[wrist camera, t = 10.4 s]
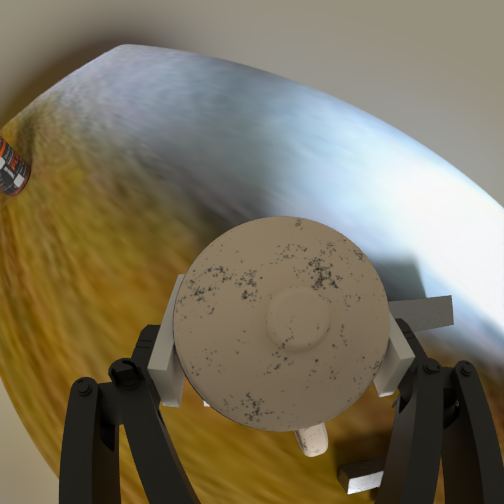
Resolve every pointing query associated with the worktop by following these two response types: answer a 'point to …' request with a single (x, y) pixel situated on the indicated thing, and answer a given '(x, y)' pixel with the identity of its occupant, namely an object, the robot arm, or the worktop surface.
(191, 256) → the worktop surface
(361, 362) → the teacup with lid
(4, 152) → the supplement bottle
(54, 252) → the worktop surface
